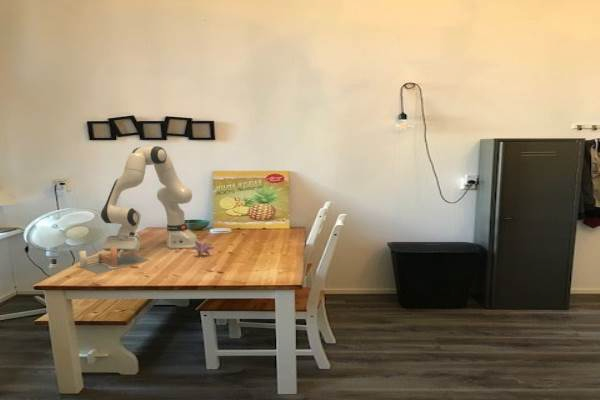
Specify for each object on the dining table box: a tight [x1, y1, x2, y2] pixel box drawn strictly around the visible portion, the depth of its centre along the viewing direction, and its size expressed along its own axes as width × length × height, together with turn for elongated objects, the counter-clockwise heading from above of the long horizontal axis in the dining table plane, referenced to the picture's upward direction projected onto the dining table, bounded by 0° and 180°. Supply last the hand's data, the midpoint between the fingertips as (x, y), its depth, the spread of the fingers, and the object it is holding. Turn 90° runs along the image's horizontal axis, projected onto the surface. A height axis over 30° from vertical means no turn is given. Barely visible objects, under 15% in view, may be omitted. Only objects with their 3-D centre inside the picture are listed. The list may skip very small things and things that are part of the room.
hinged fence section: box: [101, 247, 118, 266], centre depth 208 cm, size 3×14×10 cm, turn 57°
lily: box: [191, 240, 215, 256], centre depth 224 cm, size 12×12×10 cm
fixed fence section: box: [78, 250, 103, 269], centre depth 209 cm, size 3×12×8 cm, turn 143°
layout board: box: [78, 253, 150, 275], centre depth 212 cm, size 22×30×1 cm
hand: (116, 257), depth 208 cm, fingers closed, pressing on hinged fence section
